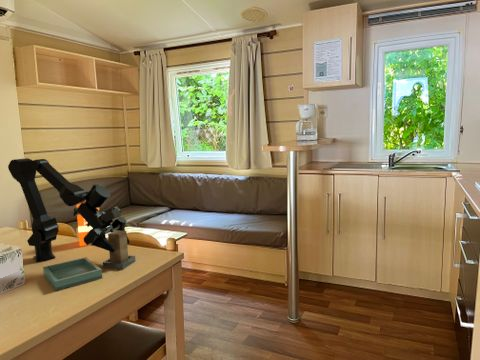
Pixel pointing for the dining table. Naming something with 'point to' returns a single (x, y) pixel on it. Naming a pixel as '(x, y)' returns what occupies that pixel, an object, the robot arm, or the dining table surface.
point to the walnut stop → (118, 246)
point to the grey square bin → (119, 265)
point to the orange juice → (82, 228)
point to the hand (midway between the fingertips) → (121, 247)
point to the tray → (72, 273)
